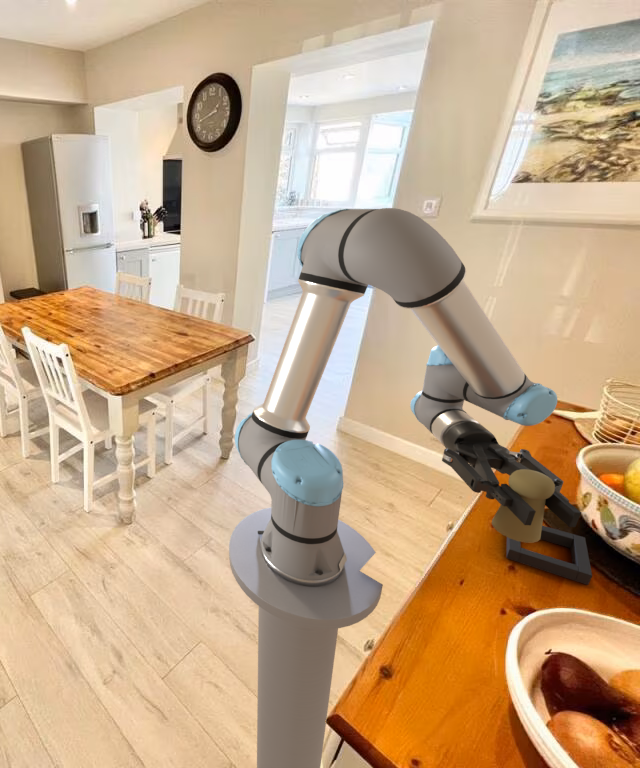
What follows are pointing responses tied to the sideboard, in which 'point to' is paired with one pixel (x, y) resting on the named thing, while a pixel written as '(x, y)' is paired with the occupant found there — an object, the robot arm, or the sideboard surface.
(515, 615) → the sideboard surface
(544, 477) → the cork
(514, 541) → the dock pad
